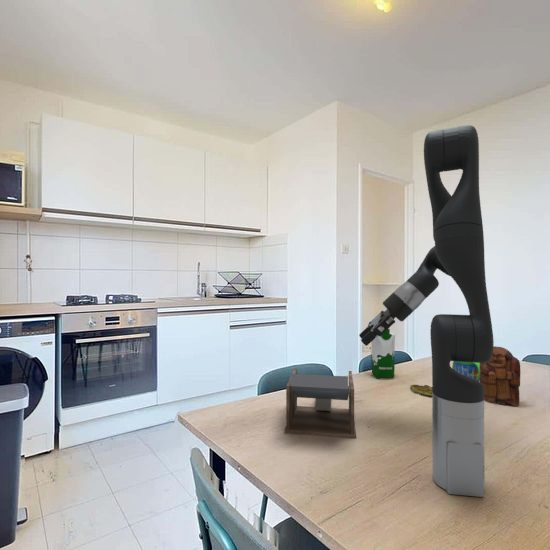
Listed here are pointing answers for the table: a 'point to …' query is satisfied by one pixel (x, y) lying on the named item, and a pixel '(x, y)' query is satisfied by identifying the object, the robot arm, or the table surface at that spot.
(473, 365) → the green blue printed box
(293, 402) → the trapdoor stand
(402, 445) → the table surface
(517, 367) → the wooden figurine
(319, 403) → the grey stone pillar
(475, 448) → the robot arm
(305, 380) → the trapdoor
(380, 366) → the milk carton
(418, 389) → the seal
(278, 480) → the table surface
